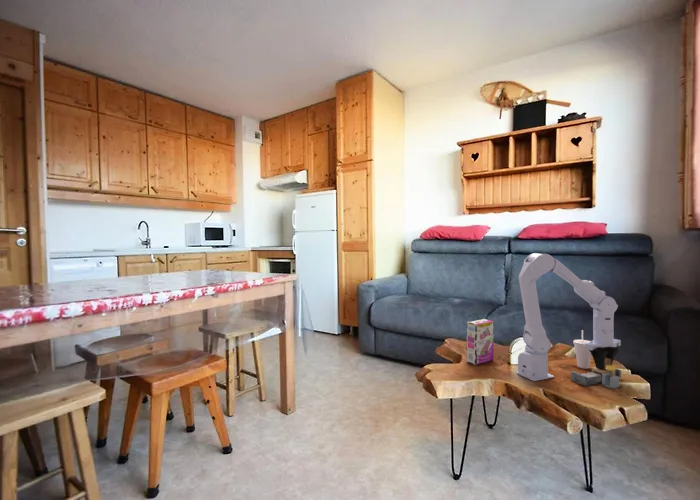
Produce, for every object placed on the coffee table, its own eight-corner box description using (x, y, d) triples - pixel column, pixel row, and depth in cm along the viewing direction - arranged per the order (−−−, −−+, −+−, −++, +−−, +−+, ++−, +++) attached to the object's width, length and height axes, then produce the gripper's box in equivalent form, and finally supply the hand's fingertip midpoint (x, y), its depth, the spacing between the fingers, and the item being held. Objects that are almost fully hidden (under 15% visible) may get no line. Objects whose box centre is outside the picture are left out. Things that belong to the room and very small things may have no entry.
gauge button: (611, 382, 111) (611, 368, 111) (603, 379, 113) (603, 365, 113) (617, 381, 112) (617, 366, 111) (609, 378, 114) (609, 364, 114)
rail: (585, 385, 113) (585, 377, 113) (571, 380, 118) (571, 371, 118) (621, 378, 118) (621, 370, 118) (606, 373, 123) (606, 365, 123)
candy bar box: (476, 366, 133) (476, 324, 132) (466, 362, 137) (465, 322, 137) (494, 360, 138) (494, 320, 138) (484, 357, 143) (483, 318, 142)
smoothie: (587, 364, 133) (587, 328, 132) (597, 370, 126) (597, 332, 126) (569, 363, 133) (569, 328, 133) (579, 369, 127) (579, 332, 126)
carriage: (604, 378, 116) (604, 361, 116) (592, 374, 120) (592, 357, 120) (615, 376, 118) (615, 359, 118) (602, 372, 122) (602, 355, 122)
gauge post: (612, 388, 110) (612, 378, 110) (602, 384, 114) (601, 374, 114) (619, 387, 111) (619, 377, 111) (608, 383, 115) (608, 373, 114)
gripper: (599, 334, 113) (600, 374, 113) (630, 330, 117) (630, 368, 117) (579, 329, 119) (579, 367, 120) (609, 325, 124) (609, 362, 124)
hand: (603, 367), depth 119 cm, fingers closed on carriage, 3 cm apart
